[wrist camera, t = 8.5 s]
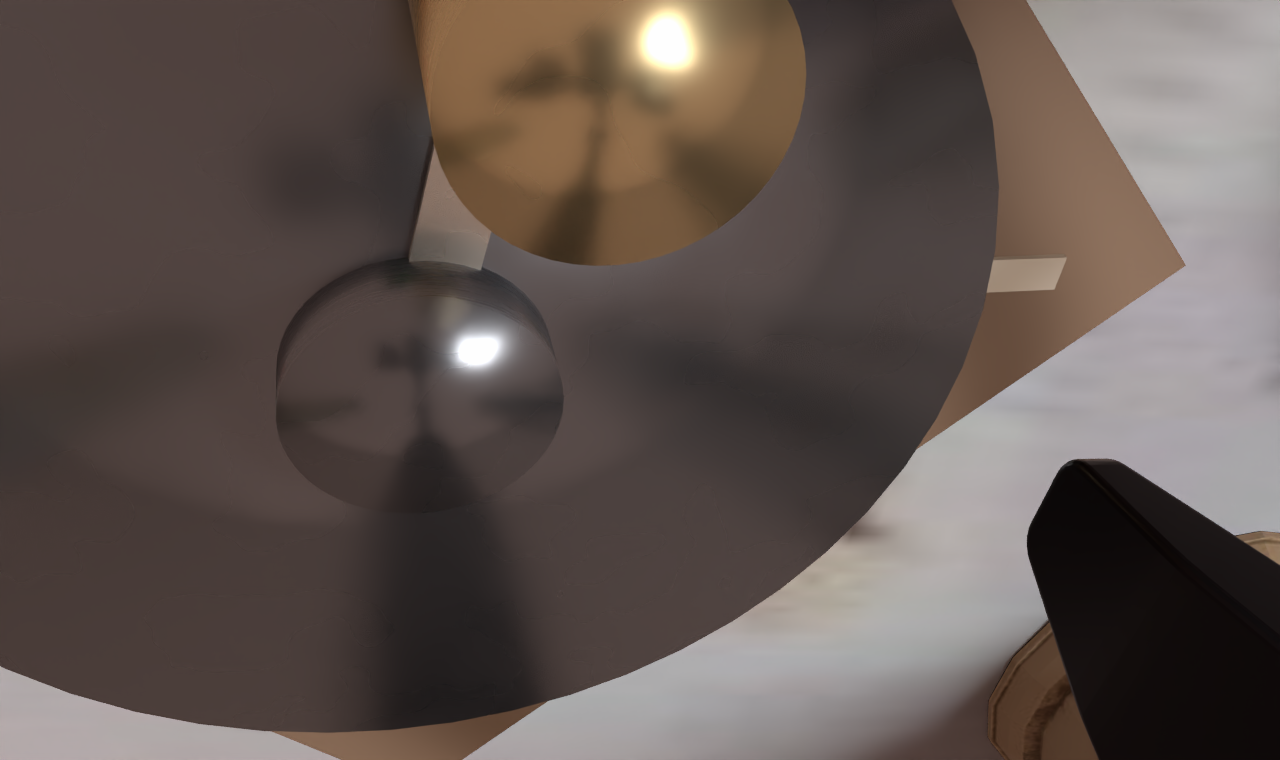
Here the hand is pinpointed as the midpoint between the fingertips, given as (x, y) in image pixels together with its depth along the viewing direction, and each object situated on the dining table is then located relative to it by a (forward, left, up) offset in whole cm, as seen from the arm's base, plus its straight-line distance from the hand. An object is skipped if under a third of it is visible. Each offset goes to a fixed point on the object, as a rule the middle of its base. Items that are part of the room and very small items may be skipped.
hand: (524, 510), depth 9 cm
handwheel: (-4, -3, -10) cm, 11 cm away
